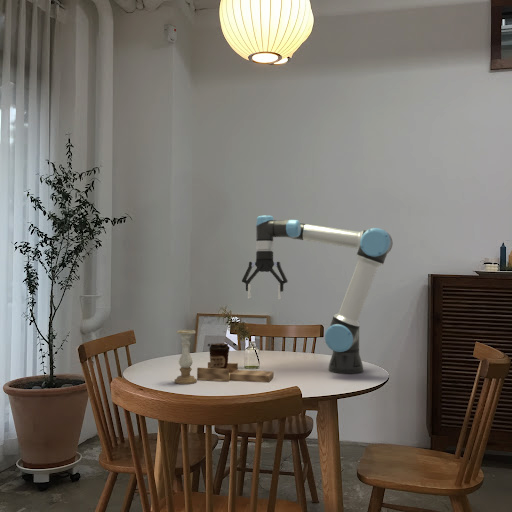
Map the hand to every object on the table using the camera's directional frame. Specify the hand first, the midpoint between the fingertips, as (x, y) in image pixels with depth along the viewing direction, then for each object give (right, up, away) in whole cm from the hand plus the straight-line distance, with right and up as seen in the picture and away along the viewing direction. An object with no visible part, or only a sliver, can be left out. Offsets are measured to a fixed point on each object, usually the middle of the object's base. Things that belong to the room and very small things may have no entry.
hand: (264, 298), depth 255 cm
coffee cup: (-19, -31, -16) cm, 39 cm away
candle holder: (-32, -31, -26) cm, 52 cm away
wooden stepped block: (-12, -31, -17) cm, 38 cm away
